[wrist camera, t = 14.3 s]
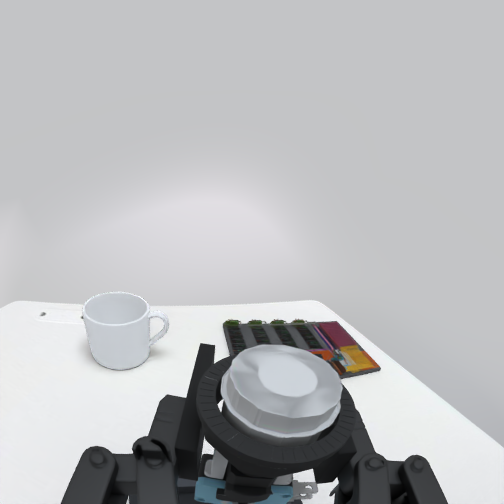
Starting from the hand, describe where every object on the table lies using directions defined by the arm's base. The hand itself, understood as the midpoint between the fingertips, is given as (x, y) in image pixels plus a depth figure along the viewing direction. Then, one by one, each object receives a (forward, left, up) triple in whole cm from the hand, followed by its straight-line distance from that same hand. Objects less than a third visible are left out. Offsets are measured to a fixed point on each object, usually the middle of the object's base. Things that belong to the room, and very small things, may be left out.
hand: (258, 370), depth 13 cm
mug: (+25, +11, -18) cm, 33 cm away
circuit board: (+24, -18, -18) cm, 35 cm away
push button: (-5, +1, -6) cm, 8 cm away
